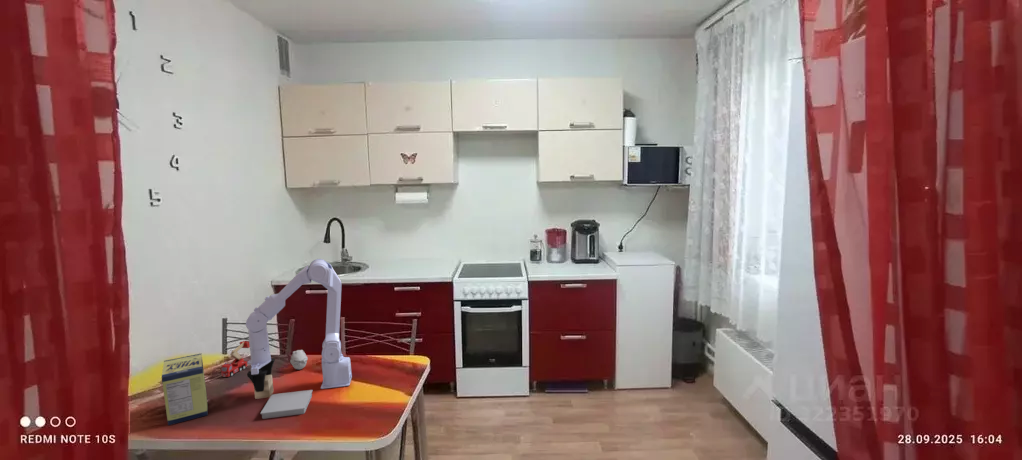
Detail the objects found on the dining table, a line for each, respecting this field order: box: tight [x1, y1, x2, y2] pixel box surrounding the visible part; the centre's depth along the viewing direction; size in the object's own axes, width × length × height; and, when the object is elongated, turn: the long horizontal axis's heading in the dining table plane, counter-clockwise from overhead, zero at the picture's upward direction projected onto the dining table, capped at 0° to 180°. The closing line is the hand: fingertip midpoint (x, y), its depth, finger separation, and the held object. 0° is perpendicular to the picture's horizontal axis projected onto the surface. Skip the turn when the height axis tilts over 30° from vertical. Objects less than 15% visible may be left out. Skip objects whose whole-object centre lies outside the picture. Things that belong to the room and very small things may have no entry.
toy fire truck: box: [221, 340, 250, 378], centre depth 181 cm, size 3×14×10 cm, turn 168°
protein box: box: [161, 353, 209, 426], centre depth 151 cm, size 10×16×16 cm
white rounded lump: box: [289, 349, 308, 370], centre depth 181 cm, size 6×7×7 cm
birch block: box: [253, 374, 274, 400], centre depth 161 cm, size 4×4×6 cm
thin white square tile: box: [260, 389, 313, 420], centre depth 152 cm, size 13×13×2 cm
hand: (263, 386), depth 160 cm, fingers open, 7 cm apart
